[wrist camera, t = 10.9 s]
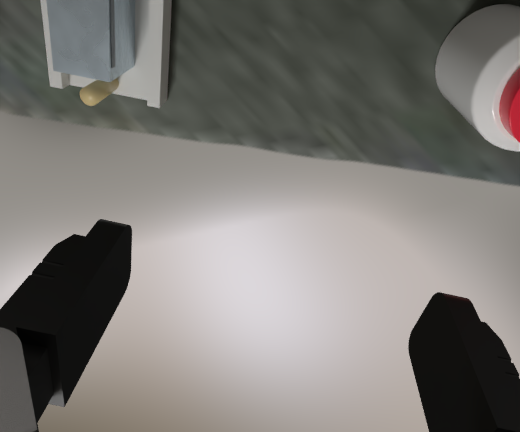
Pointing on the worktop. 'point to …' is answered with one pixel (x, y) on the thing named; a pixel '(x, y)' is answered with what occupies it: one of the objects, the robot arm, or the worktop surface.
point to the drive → (92, 37)
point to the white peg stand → (146, 59)
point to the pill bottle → (485, 73)
